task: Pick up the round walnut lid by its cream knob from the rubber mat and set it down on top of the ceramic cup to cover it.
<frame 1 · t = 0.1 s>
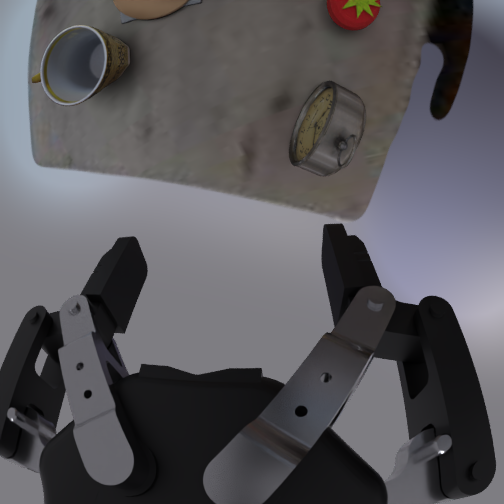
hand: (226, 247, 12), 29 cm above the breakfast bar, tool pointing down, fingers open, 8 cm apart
alarm clock: (317, 118, 35), on the breakfast bar
ceramic cup: (102, 61, 29), on the breakfast bar
strawberry: (340, 10, 25), on the breakfast bar
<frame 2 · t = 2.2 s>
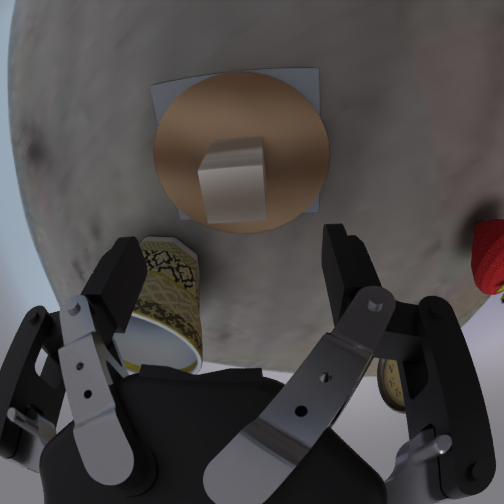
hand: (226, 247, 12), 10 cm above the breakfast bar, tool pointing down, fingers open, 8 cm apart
alarm clock: (406, 325, 33), on the breakfast bar
lid: (241, 155, 19), point 1 cm above the breakfast bar, touching mat
mat: (240, 146, 19), on the breakfast bar
ceramic cup: (152, 260, 27), on the breakfast bar
strawberry: (475, 223, 22), on the breakfast bar
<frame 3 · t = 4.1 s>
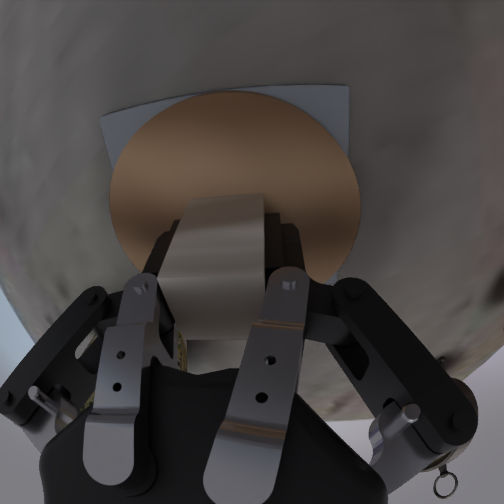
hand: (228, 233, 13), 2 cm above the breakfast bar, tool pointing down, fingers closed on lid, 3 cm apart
alarm clock: (421, 375, 27), on the breakfast bar
lid: (232, 215, 14), point 1 cm above the breakfast bar, touching gripper, mat
mat: (231, 200, 14), on the breakfast bar
ceramic cup: (131, 324, 21), on the breakfast bar
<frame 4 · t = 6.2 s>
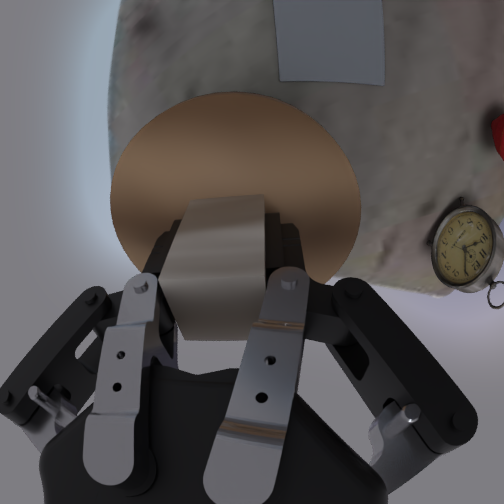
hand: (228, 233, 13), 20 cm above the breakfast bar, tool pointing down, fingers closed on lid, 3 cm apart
alarm clock: (448, 221, 34), on the breakfast bar
lid: (233, 216, 14), point 18 cm above the breakfast bar, touching gripper
mat: (331, 32, 21), on the breakfast bar
strawberry: (491, 123, 24), on the breakfast bar
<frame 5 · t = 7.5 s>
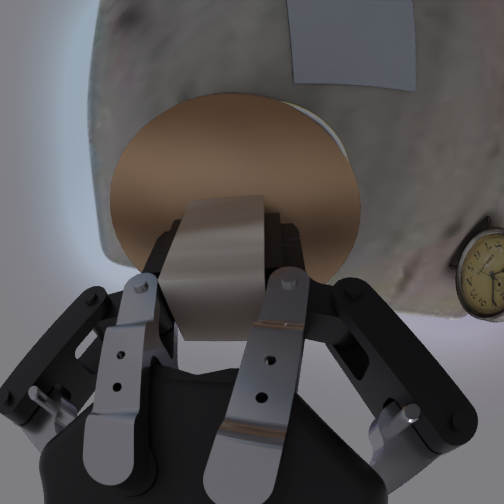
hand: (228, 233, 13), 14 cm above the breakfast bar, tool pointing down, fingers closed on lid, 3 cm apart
alarm clock: (472, 242, 30), on the breakfast bar
lid: (232, 216, 14), point 13 cm above the breakfast bar, touching gripper
mat: (354, 25, 16), on the breakfast bar
ceramic cup: (246, 137, 24), on the breakfast bar
when the fingers open (13 cm above the breakfast bar, at t = 8.6 s): lid drops 1 cm, resting on ceramic cup.
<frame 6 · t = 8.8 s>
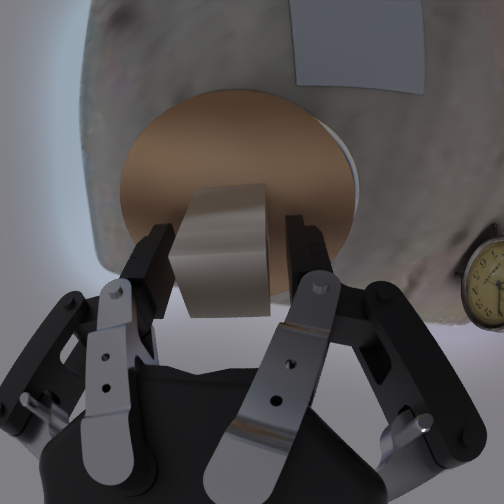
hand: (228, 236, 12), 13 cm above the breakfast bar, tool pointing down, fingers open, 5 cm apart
alarm clock: (478, 250, 28), on the breakfast bar
lid: (235, 205, 15), point 10 cm above the breakfast bar, touching ceramic cup
mat: (360, 24, 15), on the breakfast bar
ceramic cup: (246, 143, 23), on the breakfast bar, touching lid
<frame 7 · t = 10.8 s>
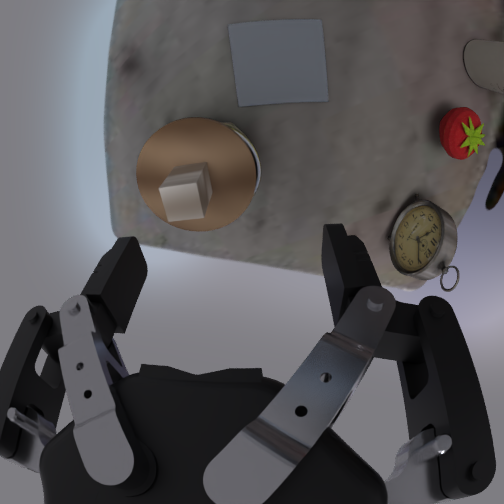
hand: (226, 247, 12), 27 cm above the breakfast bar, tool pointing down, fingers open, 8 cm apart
alarm clock: (406, 217, 41), on the breakfast bar
travel mug: (479, 63, 24), on the breakfast bar
lid: (195, 175, 27), point 10 cm above the breakfast bar, touching ceramic cup
mat: (279, 60, 28), on the breakfast bar
ceramic cup: (210, 145, 35), on the breakfast bar, touching lid
strawberry: (440, 122, 31), on the breakfast bar
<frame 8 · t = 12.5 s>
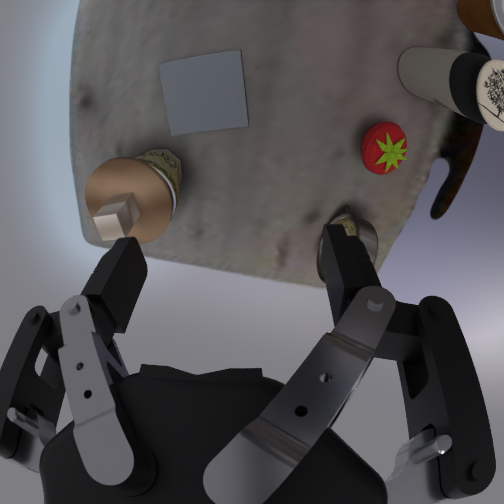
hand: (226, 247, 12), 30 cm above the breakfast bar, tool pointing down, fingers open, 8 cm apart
alarm clock: (338, 227, 47), on the breakfast bar
travel mug: (419, 71, 29), on the breakfast bar
lid: (128, 201, 33), point 10 cm above the breakfast bar, touching ceramic cup
mat: (203, 92, 34), on the breakfast bar
disposable coffee cup: (470, 15, 20), on the breakfast bar
ceramic cup: (152, 168, 41), on the breakfast bar, touching lid
strawberry: (369, 136, 37), on the breakfast bar
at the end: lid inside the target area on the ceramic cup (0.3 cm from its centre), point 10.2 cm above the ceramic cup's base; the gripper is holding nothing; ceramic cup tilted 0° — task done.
